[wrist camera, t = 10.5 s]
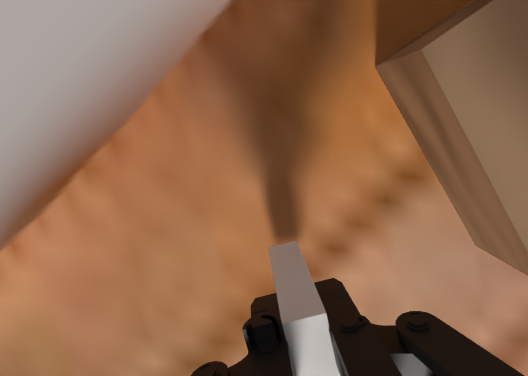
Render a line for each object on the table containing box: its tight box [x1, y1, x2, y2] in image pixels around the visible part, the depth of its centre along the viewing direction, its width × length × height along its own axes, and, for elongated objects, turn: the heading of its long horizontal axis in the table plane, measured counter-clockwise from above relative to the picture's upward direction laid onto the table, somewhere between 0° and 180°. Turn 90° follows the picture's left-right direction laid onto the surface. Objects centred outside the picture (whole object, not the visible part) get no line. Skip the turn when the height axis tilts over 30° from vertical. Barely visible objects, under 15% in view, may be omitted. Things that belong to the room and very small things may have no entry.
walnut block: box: [375, 0, 528, 275], centre depth 16 cm, size 8×12×5 cm, turn 34°
